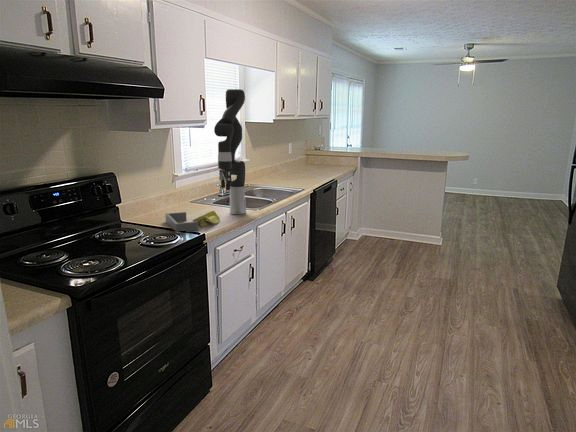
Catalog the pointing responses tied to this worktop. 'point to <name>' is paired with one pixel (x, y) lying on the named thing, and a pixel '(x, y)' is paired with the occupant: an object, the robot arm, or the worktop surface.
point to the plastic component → (208, 218)
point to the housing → (181, 216)
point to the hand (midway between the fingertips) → (225, 188)
